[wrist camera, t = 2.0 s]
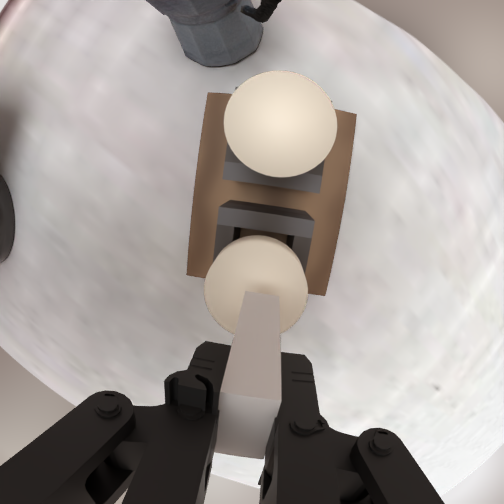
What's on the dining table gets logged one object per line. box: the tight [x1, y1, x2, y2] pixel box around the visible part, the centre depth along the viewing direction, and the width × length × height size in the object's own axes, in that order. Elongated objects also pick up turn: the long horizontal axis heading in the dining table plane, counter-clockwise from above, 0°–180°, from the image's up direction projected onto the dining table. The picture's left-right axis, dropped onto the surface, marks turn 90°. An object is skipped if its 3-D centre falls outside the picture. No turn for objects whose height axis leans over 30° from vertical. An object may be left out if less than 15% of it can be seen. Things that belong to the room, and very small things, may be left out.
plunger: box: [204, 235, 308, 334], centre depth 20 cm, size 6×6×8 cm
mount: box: [187, 87, 357, 296], centre depth 25 cm, size 14×18×8 cm
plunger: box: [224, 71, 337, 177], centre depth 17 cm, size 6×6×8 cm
